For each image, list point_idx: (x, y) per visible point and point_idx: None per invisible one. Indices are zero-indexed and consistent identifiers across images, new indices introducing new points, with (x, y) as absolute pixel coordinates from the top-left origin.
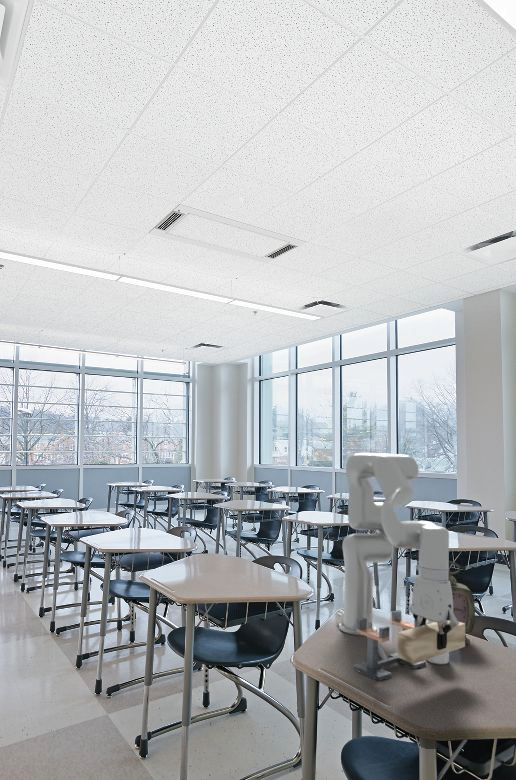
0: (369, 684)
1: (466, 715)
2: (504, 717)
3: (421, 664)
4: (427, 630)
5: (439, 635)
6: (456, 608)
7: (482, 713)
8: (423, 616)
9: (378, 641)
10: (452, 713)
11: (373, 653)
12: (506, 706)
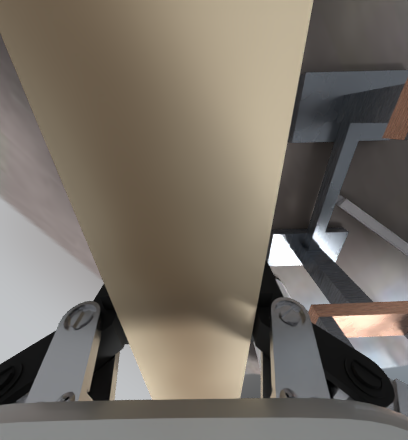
0: (311, 11)
1: (33, 126)
2: (15, 199)
3: (268, 252)
4: (165, 275)
5: (106, 290)
6: None
7: (39, 174)
8: (214, 427)
9: (402, 250)
10: None
11: (396, 89)
12: (62, 242)
